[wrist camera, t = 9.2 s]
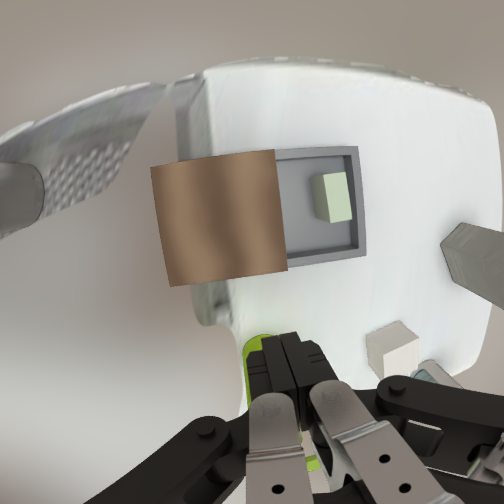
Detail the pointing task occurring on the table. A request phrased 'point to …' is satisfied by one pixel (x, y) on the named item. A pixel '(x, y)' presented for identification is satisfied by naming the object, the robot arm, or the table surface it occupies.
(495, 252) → the skincare box
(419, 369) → the spray can
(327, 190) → the tile
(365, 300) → the table surface
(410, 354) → the white cube
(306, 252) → the box
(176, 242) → the brown flat square block
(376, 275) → the table surface
